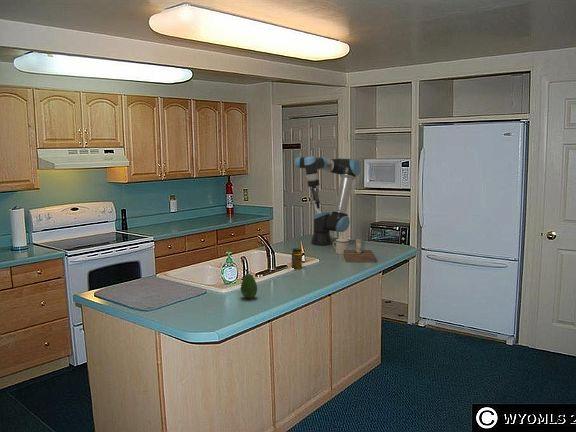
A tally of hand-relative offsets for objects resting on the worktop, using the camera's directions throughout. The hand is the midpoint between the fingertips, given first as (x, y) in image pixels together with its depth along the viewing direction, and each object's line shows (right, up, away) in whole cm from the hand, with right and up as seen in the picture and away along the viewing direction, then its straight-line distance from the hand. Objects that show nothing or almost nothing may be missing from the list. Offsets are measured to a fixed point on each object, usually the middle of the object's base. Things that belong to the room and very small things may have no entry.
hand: (318, 211), depth 342 cm
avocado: (-39, -43, -92) cm, 109 cm away
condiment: (-16, -34, -35) cm, 51 cm away
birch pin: (+25, -31, -11) cm, 41 cm away
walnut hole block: (+25, -31, -10) cm, 41 cm away
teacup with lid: (+16, -28, +8) cm, 33 cm away
